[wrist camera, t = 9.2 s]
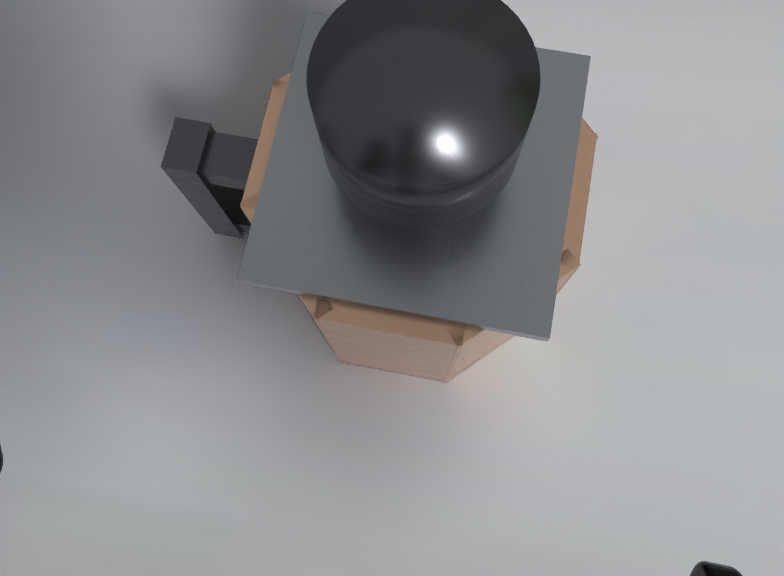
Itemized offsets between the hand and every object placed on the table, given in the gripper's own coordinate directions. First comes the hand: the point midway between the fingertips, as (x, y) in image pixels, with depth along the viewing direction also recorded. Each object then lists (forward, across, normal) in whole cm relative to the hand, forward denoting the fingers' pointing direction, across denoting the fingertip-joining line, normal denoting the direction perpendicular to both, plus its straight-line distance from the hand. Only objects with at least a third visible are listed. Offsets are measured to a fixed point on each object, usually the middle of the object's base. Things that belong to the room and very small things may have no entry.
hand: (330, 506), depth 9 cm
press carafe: (+11, +1, +2) cm, 12 cm away
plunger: (+11, 0, +1) cm, 11 cm away
